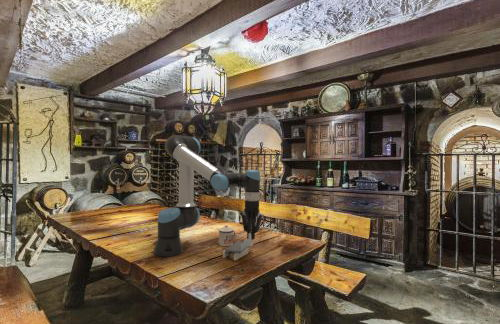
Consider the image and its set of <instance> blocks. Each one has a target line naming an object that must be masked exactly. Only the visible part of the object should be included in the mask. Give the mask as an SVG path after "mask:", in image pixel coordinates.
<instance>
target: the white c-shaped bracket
mask: <svg viewBox="0 0 500 324" xmlns="http://www.w3.org/2000/svg"><path fill="white" fill-rule="evenodd" d="M249 251H250V246H249V247H248V248H247V249H246V250H244V251H243V252H242V253H241V254H239V253H234V259H233V261H237V260H239V259H240V258H242V257H244V256H246V255H248V254H249V253H250V252H249ZM231 253H232V252H226V251H225V249H224V250H223V251H222V258H223V259H224V258H227V257H229V254H231Z"/></svg>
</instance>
